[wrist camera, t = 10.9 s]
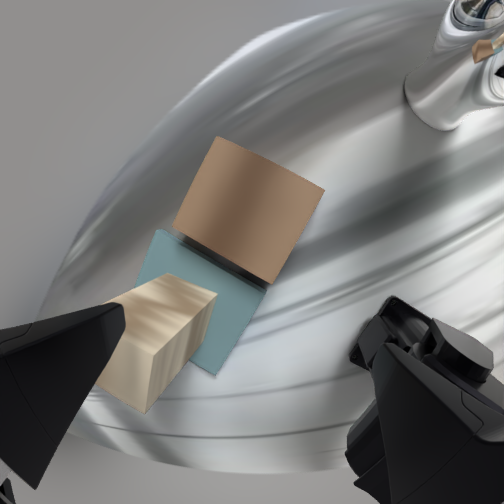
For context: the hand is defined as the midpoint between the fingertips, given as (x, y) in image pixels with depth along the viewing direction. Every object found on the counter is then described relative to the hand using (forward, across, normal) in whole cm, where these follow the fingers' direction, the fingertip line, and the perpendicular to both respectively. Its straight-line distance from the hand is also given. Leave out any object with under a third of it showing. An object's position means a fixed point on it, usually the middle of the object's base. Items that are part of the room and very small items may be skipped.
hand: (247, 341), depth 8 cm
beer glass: (+14, -13, -14) cm, 24 cm away
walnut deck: (+13, +2, -2) cm, 13 cm away
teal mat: (+12, +6, +6) cm, 15 cm away
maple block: (+11, +6, +6) cm, 14 cm away
